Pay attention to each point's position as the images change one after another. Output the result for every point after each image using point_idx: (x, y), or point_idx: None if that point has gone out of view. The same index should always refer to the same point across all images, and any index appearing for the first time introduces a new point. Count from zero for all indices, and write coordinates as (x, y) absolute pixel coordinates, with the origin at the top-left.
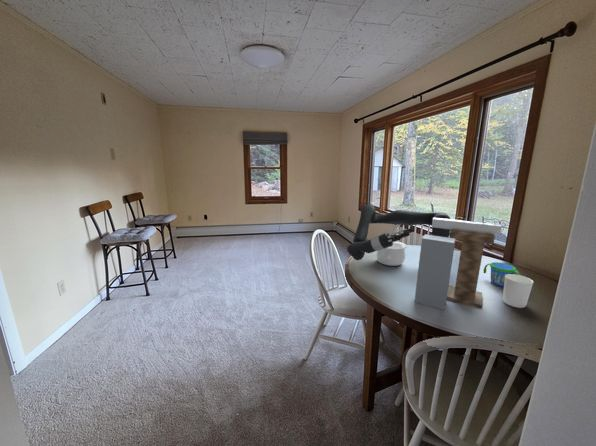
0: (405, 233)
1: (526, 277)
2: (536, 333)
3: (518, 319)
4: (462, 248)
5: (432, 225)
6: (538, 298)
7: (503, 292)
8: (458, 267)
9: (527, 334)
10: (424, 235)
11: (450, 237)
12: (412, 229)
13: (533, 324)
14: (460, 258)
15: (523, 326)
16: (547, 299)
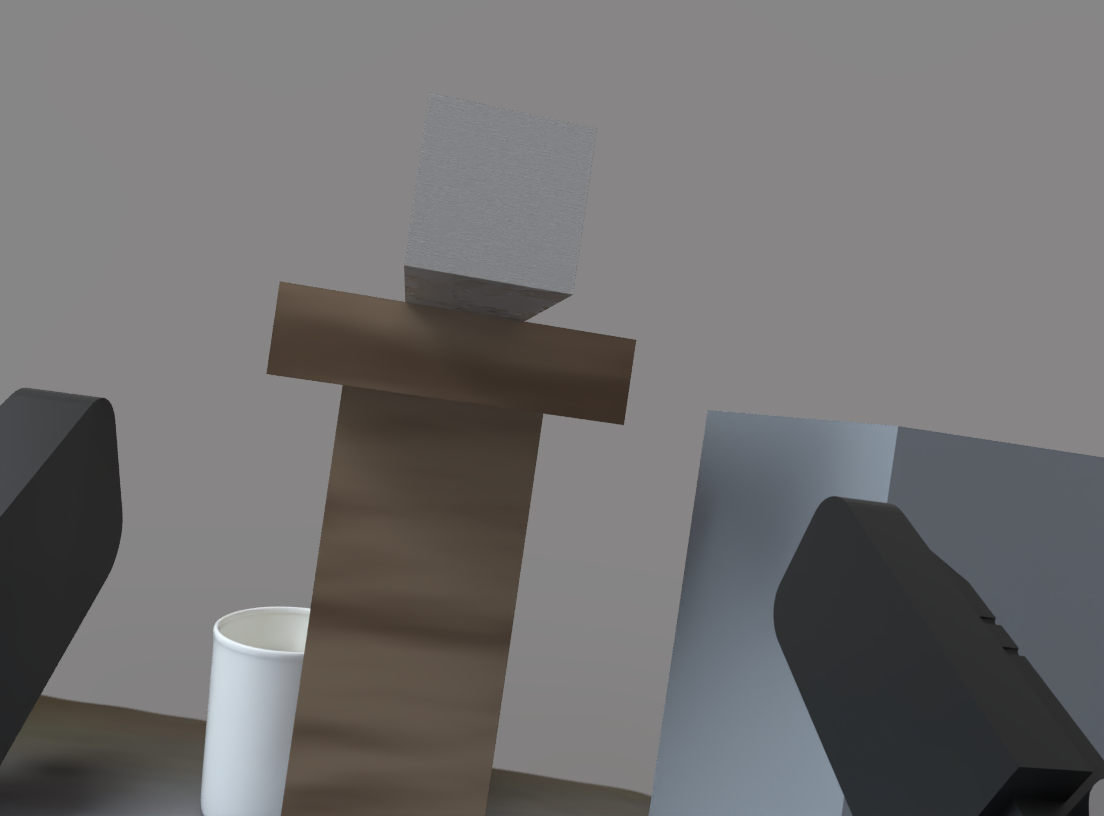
0: (976, 607)
1: (245, 610)
2: (585, 786)
3: (492, 812)
4: (524, 519)
5: (575, 262)
6: (126, 726)
7: (273, 774)
8: (494, 740)
9: (628, 808)
10: (981, 439)
11: (622, 418)
12: (104, 456)
13: (499, 782)
14: (509, 633)
15: (558, 808)
16: (125, 708)
